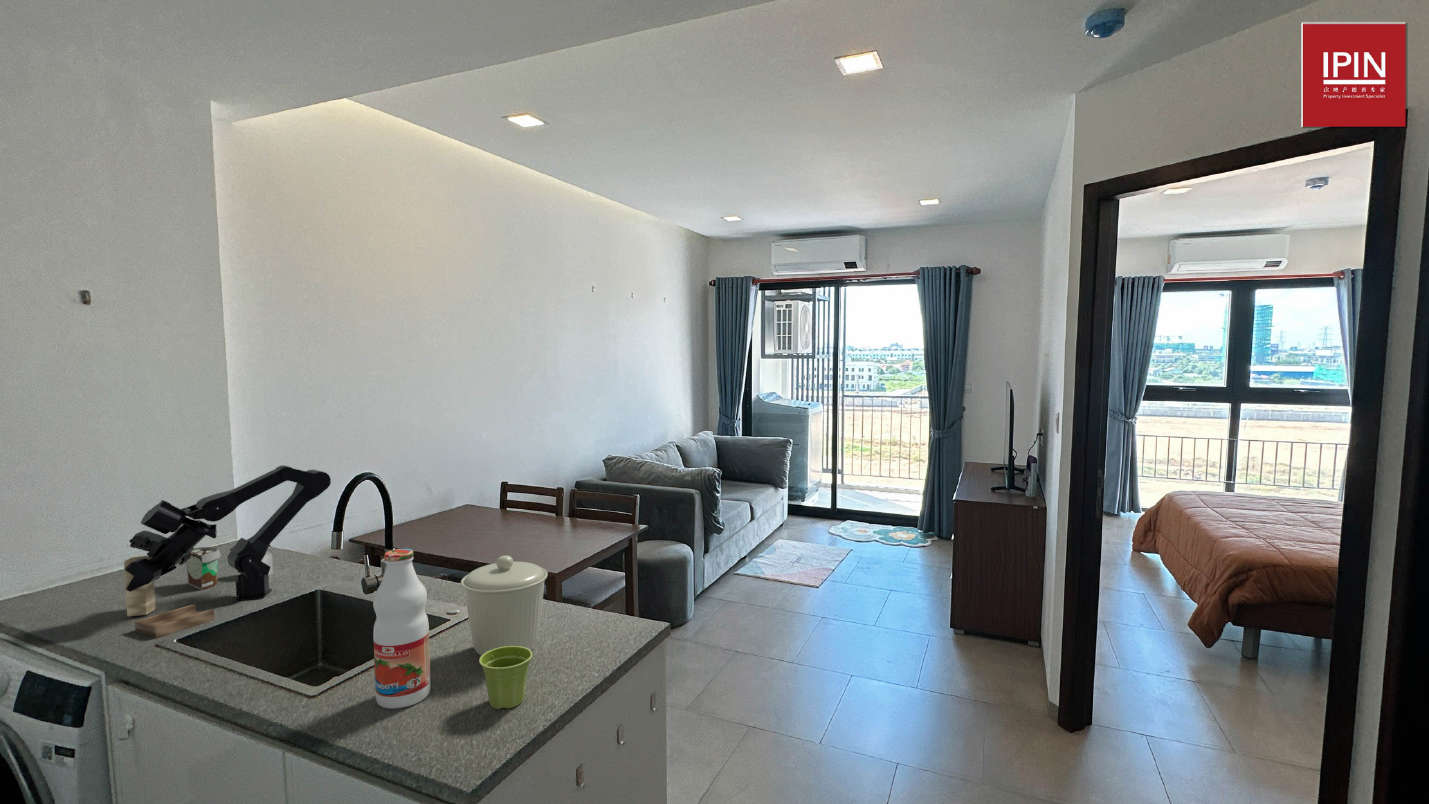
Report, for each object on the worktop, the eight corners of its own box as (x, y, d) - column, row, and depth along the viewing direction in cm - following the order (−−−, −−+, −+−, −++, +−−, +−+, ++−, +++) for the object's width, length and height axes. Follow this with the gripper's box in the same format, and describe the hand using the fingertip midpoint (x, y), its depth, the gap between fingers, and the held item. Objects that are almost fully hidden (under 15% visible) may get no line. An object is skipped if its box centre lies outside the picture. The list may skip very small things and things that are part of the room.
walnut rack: (193, 613, 165) (192, 604, 165) (214, 619, 161) (213, 609, 161) (135, 631, 154) (134, 621, 154) (156, 638, 150) (155, 627, 150)
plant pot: (511, 684, 128) (510, 641, 128) (543, 698, 123) (542, 653, 122) (469, 704, 121) (468, 659, 120) (502, 720, 115) (501, 672, 115)
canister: (461, 640, 148) (458, 550, 147) (542, 627, 155) (540, 541, 154) (464, 675, 132) (461, 573, 130) (555, 659, 139) (553, 562, 138)
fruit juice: (440, 686, 127) (436, 546, 126) (410, 712, 118) (405, 560, 116) (397, 683, 129) (392, 543, 127) (364, 707, 120) (358, 558, 118)
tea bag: (256, 572, 198) (255, 539, 197) (273, 574, 196) (271, 541, 195) (244, 576, 195) (242, 543, 194) (261, 578, 193) (259, 544, 192)
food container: (229, 584, 187) (228, 550, 186) (204, 591, 182) (202, 555, 181) (211, 577, 193) (209, 544, 193) (186, 583, 188) (184, 549, 188)
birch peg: (155, 608, 167) (152, 555, 166) (146, 614, 163) (143, 559, 162) (136, 610, 166) (133, 556, 165) (127, 616, 162) (124, 561, 161)
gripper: (174, 512, 173) (127, 556, 171) (132, 529, 155) (79, 579, 153) (210, 539, 176) (164, 583, 173) (173, 559, 158) (121, 608, 156)
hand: (133, 587), depth 164 cm, fingers closed on birch peg, 4 cm apart
